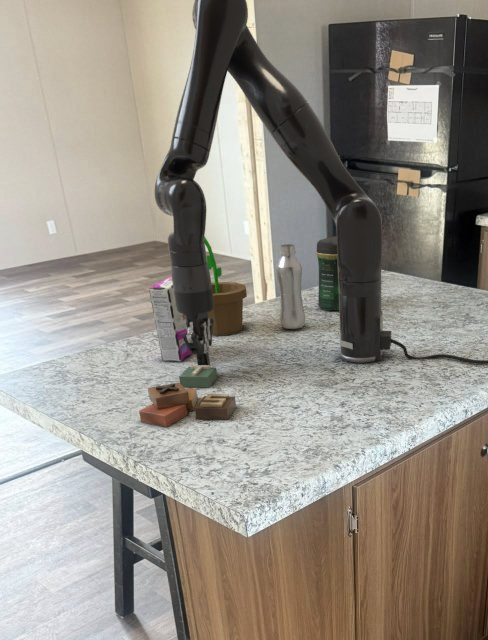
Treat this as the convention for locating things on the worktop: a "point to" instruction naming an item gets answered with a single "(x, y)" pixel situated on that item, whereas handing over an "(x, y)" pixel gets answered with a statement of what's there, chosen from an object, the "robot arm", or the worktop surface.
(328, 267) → the coffee jar
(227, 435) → the worktop surface
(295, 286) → the silver metal bottle
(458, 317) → the worktop surface
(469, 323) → the worktop surface
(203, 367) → the letter T
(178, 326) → the candy bar box
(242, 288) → the flowerpot
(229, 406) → the letter S
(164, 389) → the letter pile
